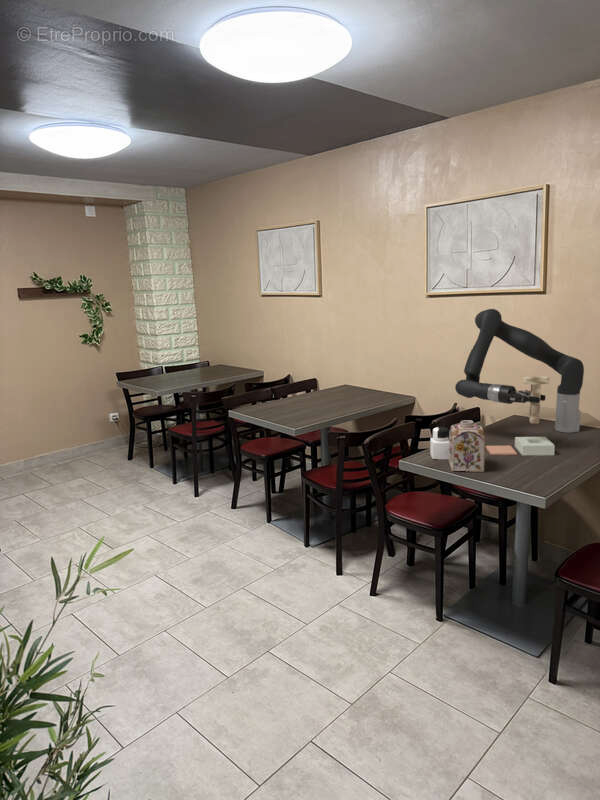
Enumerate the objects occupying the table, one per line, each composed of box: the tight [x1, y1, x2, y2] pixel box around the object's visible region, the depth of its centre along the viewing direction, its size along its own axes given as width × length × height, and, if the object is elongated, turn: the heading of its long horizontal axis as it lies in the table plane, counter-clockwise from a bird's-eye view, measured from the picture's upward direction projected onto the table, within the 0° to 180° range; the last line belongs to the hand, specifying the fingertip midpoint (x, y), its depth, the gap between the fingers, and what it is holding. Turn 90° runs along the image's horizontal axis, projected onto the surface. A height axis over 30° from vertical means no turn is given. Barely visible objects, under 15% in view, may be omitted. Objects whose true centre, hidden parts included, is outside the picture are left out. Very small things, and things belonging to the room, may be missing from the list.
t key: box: [523, 376, 550, 424], centre depth 220 cm, size 9×3×18 cm, turn 83°
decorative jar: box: [448, 419, 486, 473], centre depth 208 cm, size 12×12×18 cm
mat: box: [485, 445, 517, 456], centre depth 227 cm, size 10×10×1 cm
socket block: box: [514, 436, 556, 456], centre depth 225 cm, size 12×12×4 cm
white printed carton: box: [429, 426, 449, 460], centre depth 222 cm, size 7×7×12 cm
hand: (542, 399), depth 218 cm, fingers closed on t key, 4 cm apart
